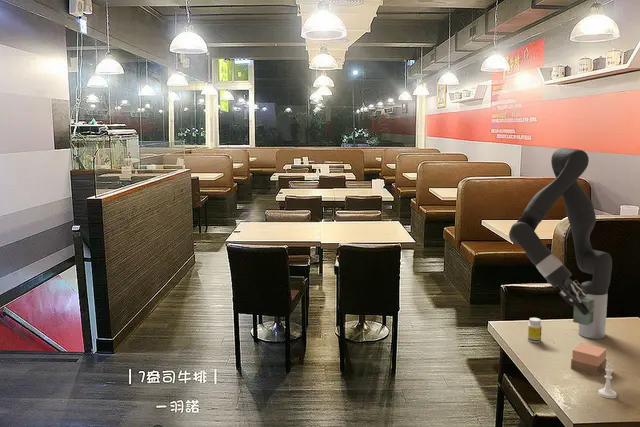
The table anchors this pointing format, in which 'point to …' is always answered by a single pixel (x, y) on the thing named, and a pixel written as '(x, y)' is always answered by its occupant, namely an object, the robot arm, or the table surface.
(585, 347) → the terracotta top block
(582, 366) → the walnut base block
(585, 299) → the green pillar block
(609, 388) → the chess piece
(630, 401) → the table surface
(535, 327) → the supplement bottle
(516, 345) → the table surface
